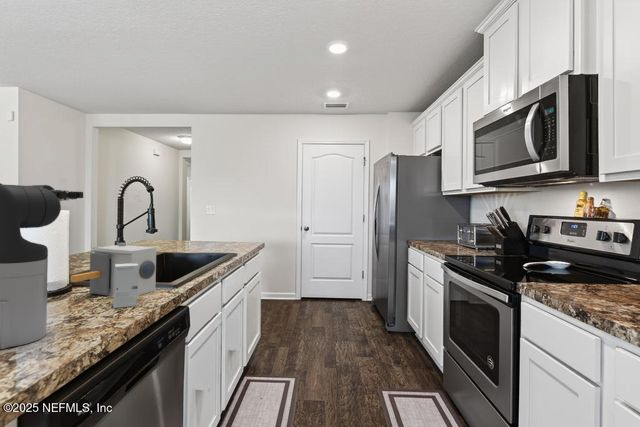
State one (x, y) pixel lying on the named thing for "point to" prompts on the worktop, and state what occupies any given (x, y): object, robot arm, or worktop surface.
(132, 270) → the skincare box
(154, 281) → the grey box with disc
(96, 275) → the hatch
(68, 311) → the worktop surface
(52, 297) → the worktop surface
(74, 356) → the worktop surface
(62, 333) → the worktop surface
